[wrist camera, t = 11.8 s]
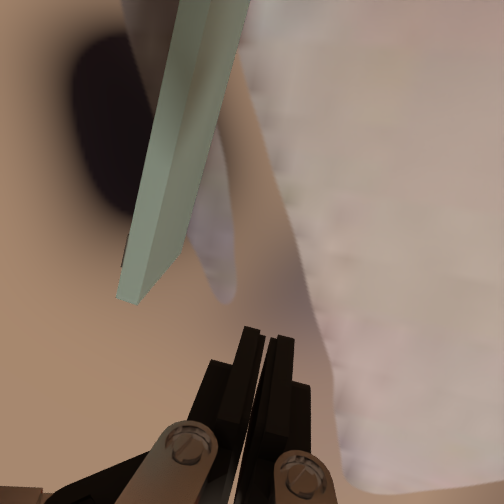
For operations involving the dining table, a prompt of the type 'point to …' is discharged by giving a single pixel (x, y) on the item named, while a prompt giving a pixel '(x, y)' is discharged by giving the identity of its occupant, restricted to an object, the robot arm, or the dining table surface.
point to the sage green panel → (180, 138)
